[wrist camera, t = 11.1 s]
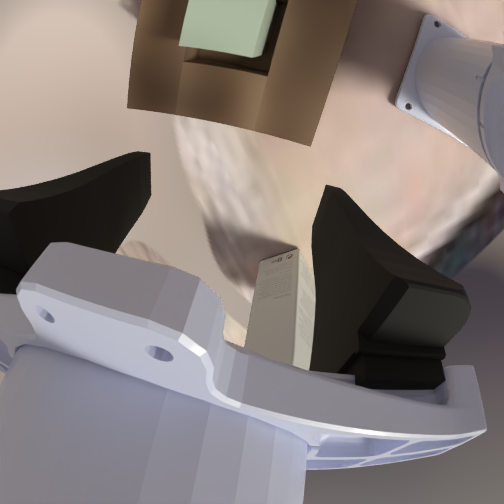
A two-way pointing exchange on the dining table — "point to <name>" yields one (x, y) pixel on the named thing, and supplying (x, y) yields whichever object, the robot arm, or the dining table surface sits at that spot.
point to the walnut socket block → (242, 69)
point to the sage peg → (229, 25)
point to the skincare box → (283, 310)
